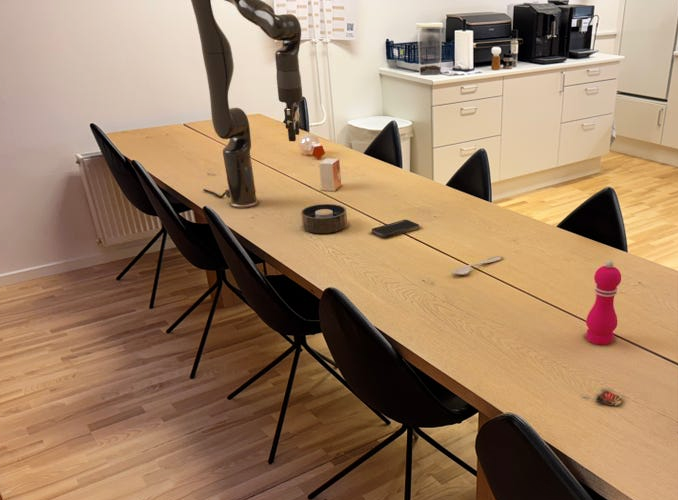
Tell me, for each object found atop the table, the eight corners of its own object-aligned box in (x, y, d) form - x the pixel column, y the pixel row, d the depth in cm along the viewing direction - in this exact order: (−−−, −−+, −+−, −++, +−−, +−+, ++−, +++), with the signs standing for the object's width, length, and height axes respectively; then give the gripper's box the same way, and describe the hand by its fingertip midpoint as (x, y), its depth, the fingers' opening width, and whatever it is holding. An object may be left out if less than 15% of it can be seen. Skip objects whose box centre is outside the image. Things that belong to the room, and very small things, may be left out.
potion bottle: (308, 154, 315) (321, 165, 305) (291, 144, 308) (304, 155, 298) (318, 137, 313) (332, 147, 303) (301, 126, 306) (315, 137, 296)
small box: (334, 191, 262) (332, 164, 257) (321, 190, 263) (318, 163, 258) (341, 185, 269) (339, 158, 264) (328, 184, 270) (326, 157, 264)
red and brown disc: (595, 402, 139) (595, 400, 139) (602, 389, 143) (602, 387, 143) (617, 408, 138) (618, 406, 137) (624, 395, 141) (624, 393, 141)
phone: (370, 229, 223) (405, 219, 231) (370, 232, 223) (406, 222, 232) (384, 235, 218) (420, 225, 226) (384, 239, 218) (420, 228, 227)
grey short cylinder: (313, 225, 228) (311, 211, 226) (327, 221, 232) (326, 207, 229) (322, 229, 224) (321, 215, 222) (337, 225, 228) (336, 211, 226)
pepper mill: (580, 331, 165) (589, 254, 155) (609, 330, 166) (620, 254, 156) (588, 346, 159) (598, 267, 149) (618, 345, 160) (630, 266, 150)
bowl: (294, 226, 229) (292, 210, 226) (330, 216, 237) (329, 201, 234) (319, 238, 219) (317, 221, 217) (356, 227, 228) (355, 211, 225)
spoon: (447, 275, 194) (447, 270, 193) (495, 256, 207) (495, 250, 206) (457, 279, 192) (458, 274, 191) (505, 259, 204) (505, 254, 203)
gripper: (280, 81, 220) (286, 132, 229) (273, 89, 208) (279, 143, 216) (304, 81, 220) (308, 132, 229) (298, 89, 208) (303, 143, 217)
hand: (294, 137), depth 223 cm, fingers open, 8 cm apart
